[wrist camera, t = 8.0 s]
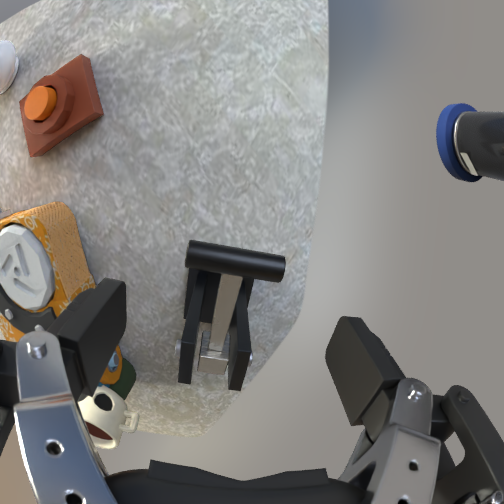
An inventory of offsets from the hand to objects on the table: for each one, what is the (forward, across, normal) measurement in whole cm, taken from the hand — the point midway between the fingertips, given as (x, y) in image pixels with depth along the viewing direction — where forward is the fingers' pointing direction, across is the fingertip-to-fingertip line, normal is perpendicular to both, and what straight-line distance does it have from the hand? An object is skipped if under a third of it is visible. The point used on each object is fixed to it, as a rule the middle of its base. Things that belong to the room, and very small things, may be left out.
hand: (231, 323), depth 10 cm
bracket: (+20, 0, +9) cm, 22 cm away
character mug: (+20, +13, +25) cm, 34 cm away
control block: (+19, +22, -9) cm, 31 cm away
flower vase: (+19, +36, -16) cm, 44 cm away
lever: (+8, 0, +4) cm, 9 cm away
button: (+16, +22, -9) cm, 29 cm away
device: (+19, +26, +12) cm, 34 cm away
